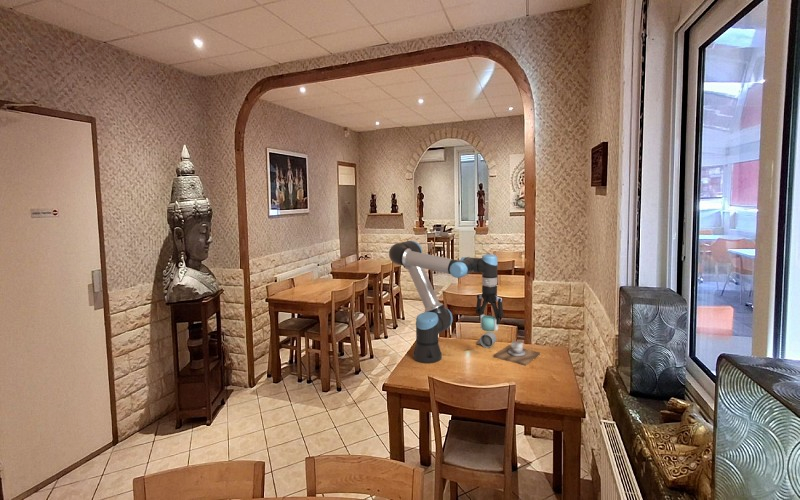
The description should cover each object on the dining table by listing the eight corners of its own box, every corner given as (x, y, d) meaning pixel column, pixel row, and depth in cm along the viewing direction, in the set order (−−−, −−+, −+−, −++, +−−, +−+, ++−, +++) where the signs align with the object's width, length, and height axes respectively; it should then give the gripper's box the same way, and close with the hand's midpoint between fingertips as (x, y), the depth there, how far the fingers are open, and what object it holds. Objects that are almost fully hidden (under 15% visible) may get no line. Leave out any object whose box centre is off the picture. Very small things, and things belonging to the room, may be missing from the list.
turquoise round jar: (479, 329, 214) (479, 316, 213) (486, 326, 219) (486, 313, 219) (492, 332, 209) (491, 319, 208) (499, 328, 215) (498, 315, 214)
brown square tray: (493, 357, 220) (493, 344, 219) (508, 347, 234) (509, 335, 233) (525, 365, 209) (525, 352, 208) (539, 354, 222) (540, 342, 221)
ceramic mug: (497, 344, 239) (497, 331, 238) (492, 349, 232) (492, 335, 231) (479, 341, 244) (479, 328, 243) (474, 346, 237) (474, 333, 236)
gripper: (468, 283, 215) (468, 326, 218) (504, 289, 202) (503, 334, 205) (476, 281, 221) (476, 322, 224) (511, 286, 207) (510, 330, 211)
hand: (489, 328), depth 214 cm, fingers closed on turquoise round jar, 7 cm apart
